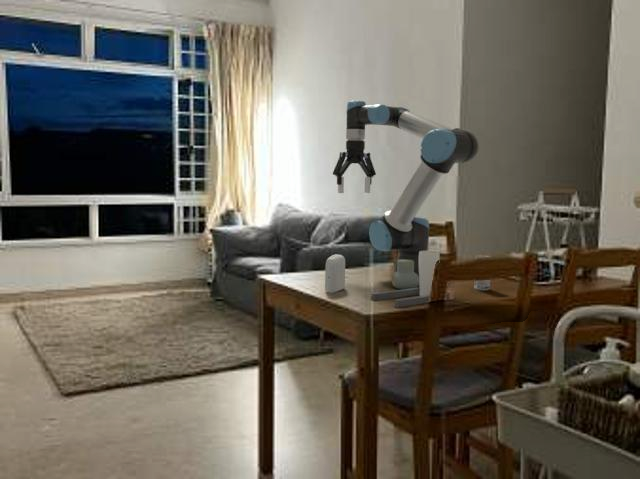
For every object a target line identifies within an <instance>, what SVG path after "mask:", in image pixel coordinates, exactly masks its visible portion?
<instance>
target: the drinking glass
mask: <svg viewBox="0 0 640 479" xmlns="http://www.w3.org/2000/svg"><path fill="white" fill-rule="evenodd" d="M438 260H439V261H440V252H439V251H436V250H435V251H434V250H428V251H420V252H419V285H418V286H419V288H420V294H419V297H420V296H427V295H430V291H431V285H432V280H433V274H434V268H435V264H436V262H437V261H438Z"/></svg>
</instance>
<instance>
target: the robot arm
mask: <svg viewBox="0 0 640 479" xmlns="http://www.w3.org/2000/svg"><path fill="white" fill-rule="evenodd" d="M368 125H373V126H375V125H376V126H390V127H391V126H392V127H395V128H398V129H399V130H403V131H405V132H407V133H410V135H414V136H416V137H418V138H421V139H422V141H421V143H420V147H421V148H420V158H419V159H420V161H421V162H420V163H419V165H418V167H417V168H416V170H415V171H414V173H413V175H412V177H411V178H410V180H409V181H408V184H406V187H405V188H404V190H403V191H402V192H401V195H400V196H399V198H398V199H397V201H396V203H395V204H394V206H393V208H392V209H390V210H387V211H386V212H385V213H384V215H383V216H382V218H381V220H375V221H373V222H371V225H370V227H369V232H368V234H369V235H368V236H369V240H370V243H371V246H373V247H374V249H375V250H377V251H378V252H379V251H380V252H390V251H398V256H397V258H396V261H395V265H394V267H393V273H395V272H397V261H398V260H400V259H408V260H413V261H414V272H415V273H416V274H417V275H418V277H419V252H420V251H429V242H430V241H429V240H430V239H429V238H430V237H429V236H430V222H429V219H428V218H425V217H417V214H418V212H419V211H420V209H421V208H422V206H423V205H424V204H425V202H426V200H427V199H428V197H429V195H430V194H431V193H432V191H433V190H434V188H435V186H436V185H437V183H438V182H439V180H440V179H441V176H443V175H446V174H448V173H450V171H451V169H452V168H453V166H454V165H455V164H467V163H468V162H471V161H472V160H473V159H474V158H475V157H476V156H477V154H478V152H479V148H480V145H479V140H478V138H477V137H476V135H475V134H474V133H472V132H470V131H468V130H464V129H462V128H459V127H454V128H451V127H449V126H447V125H443V124H441V123H438V122H437V121H433V120H431V119H429V118H426V117H424V116H421V115H418V114H417V113H414V112H411V111H410V109H408V108H406V107H402V106H398V107H397V106H389V105H386V104H380V103H379V104H378V103H376V104H371V105H370V104H368V105H367V104H366V101H363V100H350V101H348V102H347V106H346V133H345V136H346V137H345V139H346V142H345V149H346V152H345V151H340V152H339V157H338V159H337V162H336V164H335V166H334V169H333V172H332V175H333V176H335V177H336V185H337V193H338V194H344V192H345V191H344V190H345V189H344V187H345V186H344V185H345V181H344V180H345V177H344V176H343V175H344V174H345V173H346V171H347V170H348V168H349V166H351V165H352V164H358V166H360V168H361V170H362V171H363V172H364V174H365V176H364V193H366V194H370V193H371V185H372V183H373V182H372V180H373V179H372V178H374V177H375V176H376V175H377V172H376V170H375V167H374V164H373V161H372V159H371V158H372V157H371V153H370V152H364V151H365V148H366V147H365V146H366V141H365V138H366V126H368Z"/></svg>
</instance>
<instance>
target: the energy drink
mask: <svg viewBox="0 0 640 479" xmlns="http://www.w3.org/2000/svg"><path fill="white" fill-rule="evenodd" d="M485 257H491V255H488V254H476V256H475V259H477V258H485ZM491 258H492V257H491ZM473 284H474V285H473V288H474V290H476V291H486V292H487V291H489V290H490V288H491V287H490V286H491V279H490V280H484V281H475V280H474V283H473Z"/></svg>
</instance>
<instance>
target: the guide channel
mask: <svg viewBox="0 0 640 479" xmlns="http://www.w3.org/2000/svg"><path fill="white" fill-rule="evenodd" d="M446 290H447V294H446V299H447V300H446V301H452V300H454V298H455V296H454V295H455V291H453V290H449V289H446ZM370 295H371V296H370V299H371V300H372V301H378V300H379V301H380V300H387V299H388V300H389V299H395V298H397V299H395V300H394V307H396V308H402V307H408V306H417V305H423V304H429V303H428V301H429V297H430V295H427V296H420V287H416V288H411V289H396V290H389V291H381V292H372V293H371V294H370ZM417 295H418V296H417ZM410 296H411V297H410ZM412 296H413V297H412ZM401 297H406V298H401ZM407 297H408V298H407ZM398 298H400V299H398Z"/></svg>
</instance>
